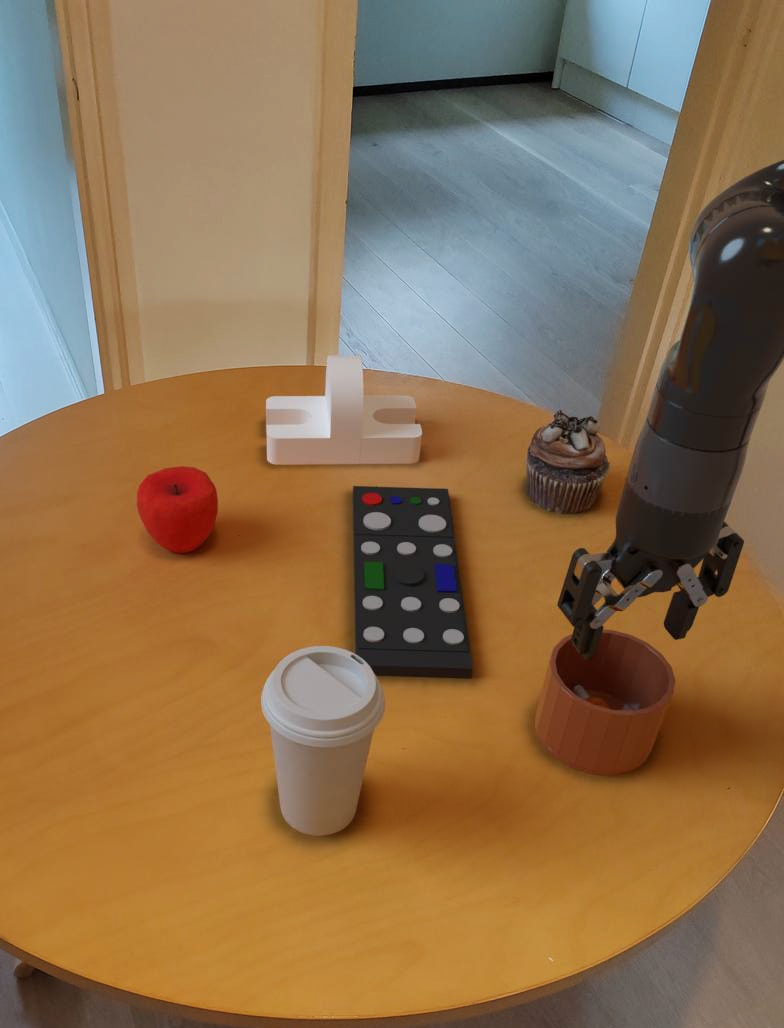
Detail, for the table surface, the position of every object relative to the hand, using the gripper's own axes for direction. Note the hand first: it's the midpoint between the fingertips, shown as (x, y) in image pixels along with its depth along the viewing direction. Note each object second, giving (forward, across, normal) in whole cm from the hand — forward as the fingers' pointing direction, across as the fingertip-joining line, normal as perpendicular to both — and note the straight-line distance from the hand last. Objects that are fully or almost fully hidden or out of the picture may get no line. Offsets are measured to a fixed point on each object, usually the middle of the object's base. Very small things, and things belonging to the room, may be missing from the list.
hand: (629, 642), depth 85 cm
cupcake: (+12, +15, +36) cm, 41 cm away
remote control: (+12, -8, +26) cm, 30 cm away
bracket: (+12, -6, +54) cm, 56 cm away
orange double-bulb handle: (+11, -1, +1) cm, 11 cm away
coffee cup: (+12, -27, 0) cm, 30 cm away
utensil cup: (+12, 0, +1) cm, 12 cm away
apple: (+12, -30, +40) cm, 51 cm away
